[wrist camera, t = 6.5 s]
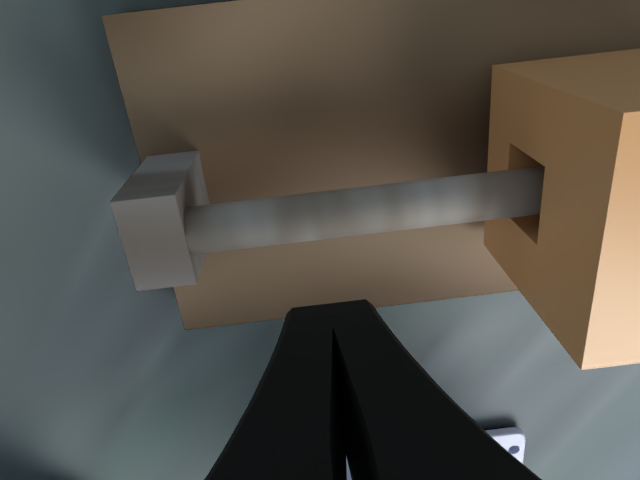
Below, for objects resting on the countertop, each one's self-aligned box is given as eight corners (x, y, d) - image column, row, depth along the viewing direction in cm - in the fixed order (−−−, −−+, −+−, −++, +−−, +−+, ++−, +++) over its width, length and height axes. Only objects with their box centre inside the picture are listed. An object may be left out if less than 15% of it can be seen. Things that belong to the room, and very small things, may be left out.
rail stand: (695, 246, 19) (893, 370, 13) (191, 305, 19) (146, 462, 13) (773, -60, 15) (1134, -96, 9) (118, 13, 15) (-8, 31, 8)
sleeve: (622, 228, 16) (787, 344, 11) (483, 244, 16) (581, 370, 11) (655, 46, 14) (889, 82, 9) (492, 65, 14) (623, 113, 9)
